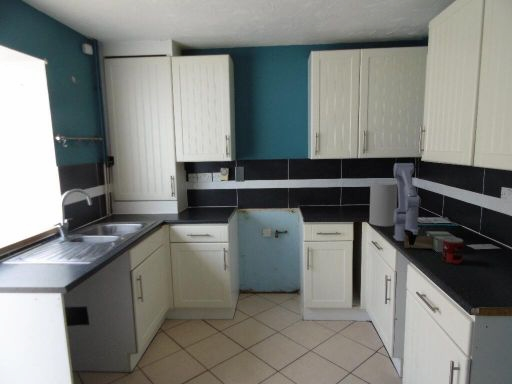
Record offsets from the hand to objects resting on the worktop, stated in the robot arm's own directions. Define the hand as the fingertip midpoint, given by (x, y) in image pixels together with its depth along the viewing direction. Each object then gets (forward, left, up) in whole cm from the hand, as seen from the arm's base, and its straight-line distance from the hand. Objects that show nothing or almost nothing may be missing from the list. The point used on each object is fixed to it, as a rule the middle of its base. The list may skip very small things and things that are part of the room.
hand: (410, 244), depth 173 cm
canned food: (+19, +12, -2) cm, 23 cm away
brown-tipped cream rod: (0, +4, -2) cm, 4 cm away
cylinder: (-55, -2, -2) cm, 55 cm away
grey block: (0, +15, -2) cm, 16 cm away
